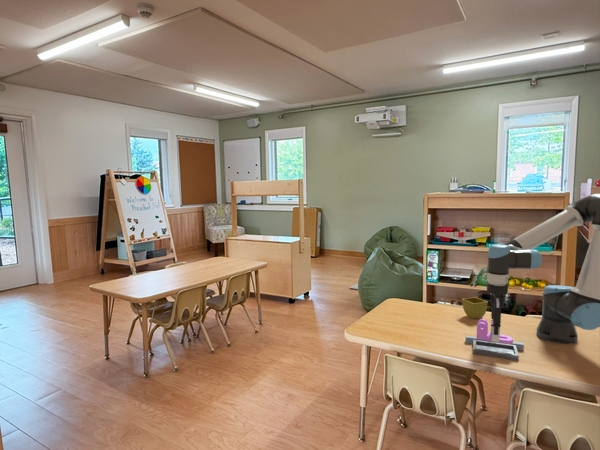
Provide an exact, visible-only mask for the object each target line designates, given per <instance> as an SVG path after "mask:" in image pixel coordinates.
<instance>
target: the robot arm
mask: <svg viewBox="0 0 600 450" xmlns="http://www.w3.org/2000/svg"><path fill="white" fill-rule="evenodd" d="M587 223H591V224H590V225H591V227H592V228H593V232H592V236H591V238H590V241H589V245H588V249H587V251H586V255H585V258H584V261H583V264H582V266H581V270H580V271H579V272H580V273H579V275H578V279H577V281H576V285H575V286H569V285H568V286H567V285H561V284H560V285H559V284H557V285H556V284H554V285H545V286H544V288H543V292H542V309H541V310H542V313H541V319H540V321H539V323H538V325H537V327H536V336H538V337H539V338H541V339H543V340H545V341H548V342H552V343H556V344H563V345H565V344H566V345H570V344H571V345H572V344H575V343H578V337H579V336H578V333H577V329H576V328H580V329H582V330H587V331H594V330H597V329H598V328H600V193H593V194H590V195H586V196H584V197H583V198H579V199H578V200H577V201H574V202H572V203H570V204H569V205H567V206H565V207H564V209H563V211H561V212H559V213H557V214H555V215H554V216H552V217H550V218H549V219H547V220H545V221H543V222H541V223H540V224H538V225H536V226H534V227H532V228H530V229H529V230H527V231H525V232H524V233H522V234H520V235H518V236H517V237H514V238H513V239H511V240H509V241H508V242H498V243H497V244H495V243H493V244H491V245H489V248H488V255H487V273H486V274H487V275H486V276H487V277H486V282H487V283H486V292H487V293H489V294H491V296H490V301H491V303H490V305H491V313H490V317H491V319H490V320H491V321H490V323H491V324H490V333H492V342H499V338H500V335H501V327H502V325H501V324H502V323H501V322H502V321H501V320H502V319H501V318H502V308H503V297H502V296H505V295H508V293H509V292H508V291H509V285H508V283H509V279H511V276H510V275H509V274H510V270H525V269H526V270H527V269H528V270H531V269H538V268H540V267H541V266H542V263H543V262H542V261H543V257H542V254H541V252H540V250H537V249H536V248H537V247H539V246H541V245H543V244H544V243H546V242H548V241H550V240H552V239H554V238H555V237H557V236H559V235H561V234H564V233H565V232H567V231H568V230H571V229H572V228H574V227H581V226H583V225H585V224H587Z"/></svg>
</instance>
